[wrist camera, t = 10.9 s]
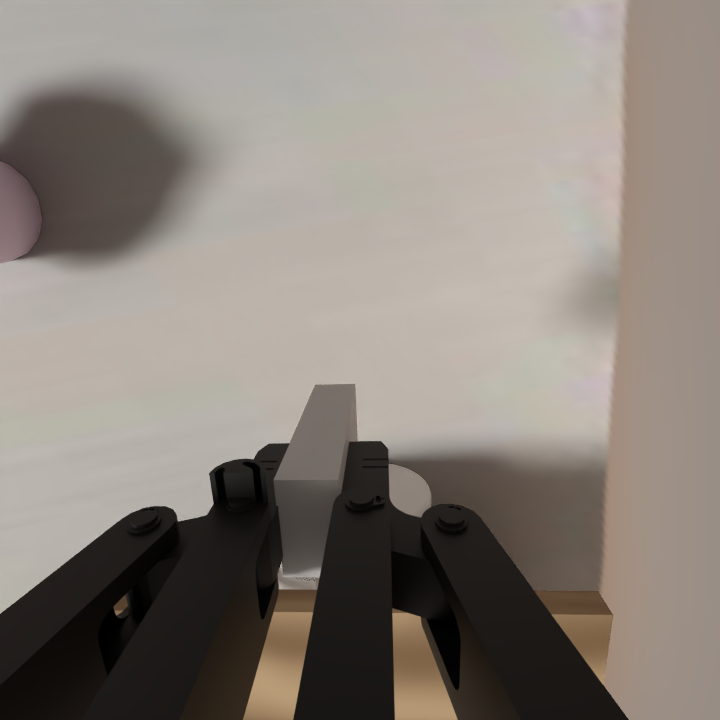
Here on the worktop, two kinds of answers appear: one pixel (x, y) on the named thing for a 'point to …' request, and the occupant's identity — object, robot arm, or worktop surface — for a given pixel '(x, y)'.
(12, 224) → the mushroom
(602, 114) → the worktop surface
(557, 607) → the small wooden shelf
